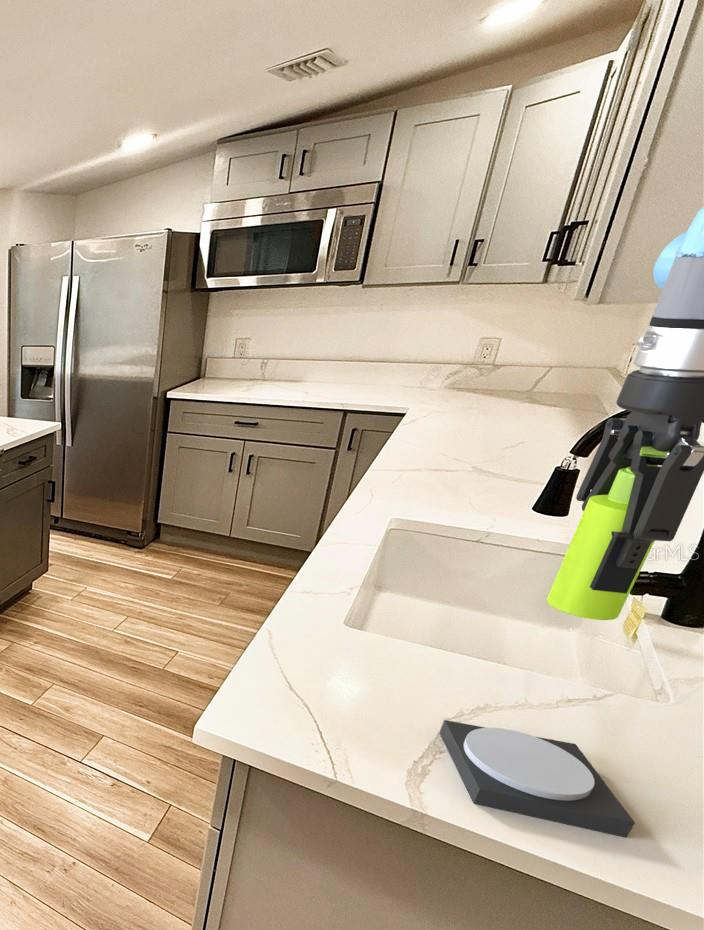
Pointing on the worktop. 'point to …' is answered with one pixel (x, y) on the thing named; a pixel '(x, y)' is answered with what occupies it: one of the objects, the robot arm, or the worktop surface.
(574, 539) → the soap dispenser
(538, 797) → the scale
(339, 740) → the worktop surface
